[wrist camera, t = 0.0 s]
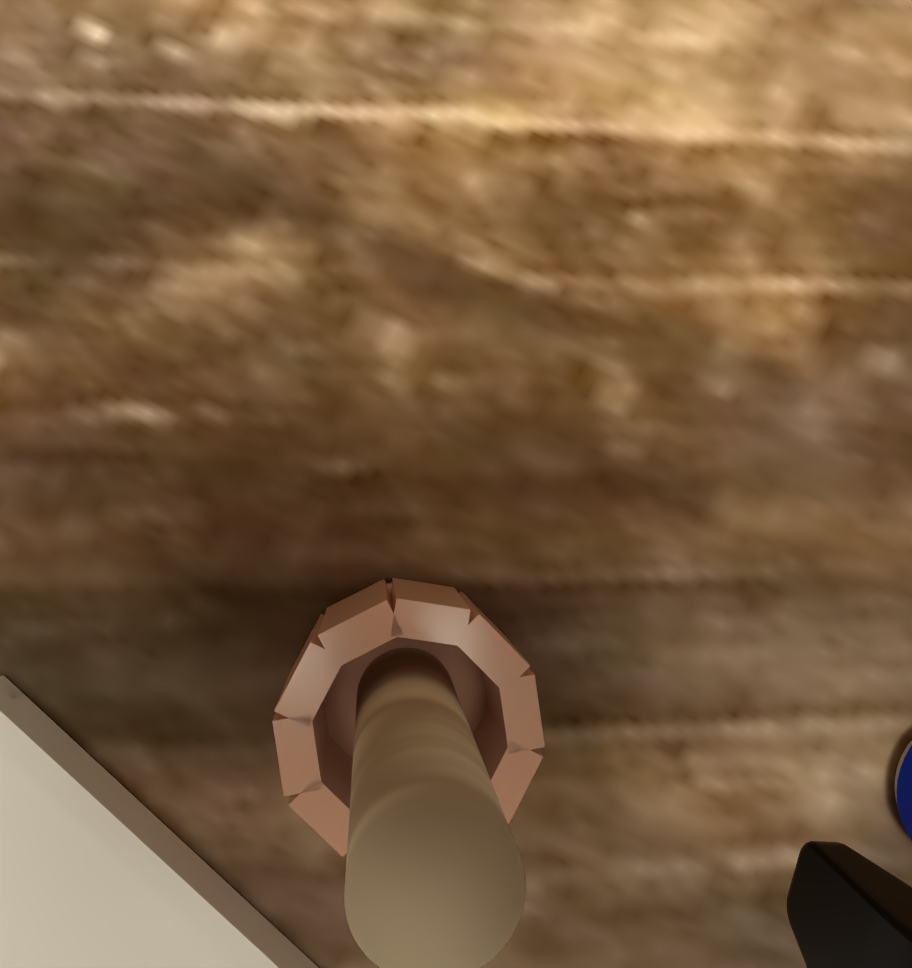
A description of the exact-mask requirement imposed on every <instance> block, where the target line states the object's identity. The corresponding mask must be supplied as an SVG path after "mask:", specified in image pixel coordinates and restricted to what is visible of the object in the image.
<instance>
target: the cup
mask: <svg viewBox="0 0 912 968" xmlns="http://www.w3.org/2000/svg"><path fill="white" fill-rule="evenodd" d="M405 647H407V648H416V649H420V650H423V651H426V652H428V653H430V654H431V655H433V656H434V657H436V658H437V659H438V660H439V661H440V662H441V663H442V664H443V665H444V667H445V668H446V670H447V671H448V673H449V676H450V678H451V680H452V683H453V686H454V688H455V691H456V693H457V696H458V698H459V701H460V703H461V706H462V708H463V711H464V714H465V716H466V719H467V721H468V724H469V726H470V729H471V731H472V734H473V736H474V739H475V742H476V744H477V747H478V749H479V752H480V754H481V757H482V759H483V762H484V764H485V767H486V769H487V772H488V775H489V777H490V780H491V782H492V785H493V787H494V790H495V792H496V795H497V797H498V800H499V803H500V805H501V808H502V810H503V813H504V815H505V818H506V820H507V823H510V821H511V819H512V817H513V815H514V813H515V811H516V809H517V807H518V805H519V803H520V802H521V800H522V798H523V796H524V794H525V792H526V790H527V788H528V786H529V784H530V782H531V780H532V778H533V776H534V774H535V772H536V770H537V768H538V766H539V764H540V762H541V760H542V758H543V755H542V754H541V752H540V750H539V749H538V748H543V747H545V744H544V737H543V730H542V723H541V716H540V709H539V702H538V695H537V687H536V680H535V674H534V673H533V672H532V671H531V669H530V668H529V667H530V665H529V664H528V662H527V661H526V660H525V659H524V658H523V656H522V655H521V654H520V653H519V652H518V650H517V649H516V648H515V647H514V646H513V644H512V643H511V642H510V641H509V640H508V638H507V637H506V636H505V635H504V634H503V633H502V632H501V631H500V630H499V629H498V628H497V627H496V626H495V625H494V624H493V623H492V622H491V621H490V620H489V619H488V618H487V617H486V616H485V614H484V613H483V612H482V611H481V610H480V609H479V608H478V607H477V606H476V605H475V604H474V603H473V602H472V601H471V600H470V599H469V598H468V597H467V596H466V595H465V594H464V593H463V592H462V591H460V592H459V593H458V592H457V590H456V589H455V588H454V587H450V586H444V585H437V584H431V583H424V582H418V581H411V580H405V579H399V578H392V582H389V583H386V582H385V580H384V579H383V580H381V581H379V582H377V583H375V584H373V585H371V586H369V587H367V588H365V589H363V590H361V591H359V592H357V593H355V594H353V595H351V596H349V597H347V598H345V599H343V600H341V601H339V602H337V603H335V604H333V605H331V606H329V607H327V608H326V611H325V614H324V615H322V614H320V616H319V618H318V620H317V622H316V624H315V625H314V627H313V629H312V631H311V633H310V635H309V637H308V639H307V641H306V643H305V644H304V646H303V648H302V650H301V652H300V654H299V656H298V658H297V660H296V661H295V663H294V665H293V667H292V669H291V671H290V673H289V676H288V678H287V681H286V683H285V686H284V688H283V690H282V693H281V695H280V698H279V700H278V703H277V705H276V708H275V710H274V711H275V712H276V713H275V716H274V718H273V721H272V722H273V729H274V736H275V742H276V749H277V755H278V762H279V768H280V775H281V782H282V788H283V795H284V796H289V795H291V796H290V800H289V804H288V805H289V806H290V807H291V808H292V809H293V810H294V811H295V812H296V813H297V814H298V815H299V816H300V817H301V818H302V819H303V820H304V821H305V822H306V823H307V824H309V825H310V826H311V827H312V828H313V829H314V830H315V831H316V832H317V833H318V834H319V835H320V836H321V837H322V838H323V839H324V840H325V841H326V842H327V843H329V844H330V845H331V846H332V847H333V848H334V849H335V850H336V851H337V852H338V853H339V854H340V855H341V856H342V857H343V856H344V855H345V854H346V853H347V845H348V829H349V813H350V797H351V781H352V765H353V750H354V734H355V718H356V702H357V689H358V685H359V682H360V679H361V676H362V674H363V673H364V671H365V669H366V668H367V667H368V665H369V664H370V663H371V662H372V661H373V660H374V659H376V658H377V657H378V656H380V655H381V654H383V653H385V652H387V651H390V650H393V649H397V648H405Z"/></svg>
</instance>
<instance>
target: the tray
mask: <svg viewBox="0 0 912 968" xmlns="http://www.w3.org/2000/svg"><path fill="white" fill-rule="evenodd" d="M0 968H318V967H317V966H316V965H315V964H314V963H313V962H312V961H311V960H310V959H309V958H308V957H306V956H305V955H304V954H303V953H302V952H301V951H300V950H299V949H298V948H297V947H296V946H295V945H294V944H292V943H291V942H290V941H289V940H288V939H287V938H286V937H285V936H284V935H283V934H282V933H281V932H280V931H278V930H277V929H276V928H275V927H274V926H273V925H272V924H271V923H270V922H269V921H268V920H267V919H266V918H264V917H263V916H262V915H261V914H260V913H259V912H258V911H257V910H256V909H255V908H254V907H253V906H252V905H250V904H249V903H248V902H247V901H246V900H245V899H244V898H243V897H242V896H241V895H240V894H239V893H238V892H236V891H235V890H234V889H233V888H232V887H231V886H230V885H229V884H228V883H227V882H226V881H225V880H224V879H222V878H221V877H220V876H219V875H218V874H217V873H216V872H215V871H214V870H213V869H212V868H211V867H210V866H208V865H207V864H206V863H205V862H204V861H203V860H202V859H201V858H200V857H199V856H198V855H197V854H196V853H194V852H193V851H192V850H191V849H190V848H189V847H188V846H187V845H186V844H185V843H184V842H183V841H182V840H180V839H179V838H178V837H177V836H176V835H175V834H174V833H173V832H172V831H171V830H170V829H169V828H168V827H166V826H165V825H164V824H163V823H162V822H161V821H160V820H159V819H158V818H157V817H156V816H155V815H154V814H152V813H151V812H150V811H149V810H148V809H147V808H146V807H145V806H144V805H143V804H142V803H141V802H140V801H138V800H137V799H136V798H135V797H134V796H133V795H132V794H131V793H130V792H129V791H128V790H127V789H126V788H124V787H123V786H122V785H121V784H120V783H119V782H118V781H117V780H116V779H115V778H114V777H113V776H112V775H110V774H109V773H108V772H107V771H106V770H105V769H104V768H103V767H102V766H101V765H100V764H99V763H98V762H96V761H95V760H94V759H93V758H92V757H91V756H90V755H89V754H88V753H87V752H86V751H85V750H84V749H82V748H81V747H80V746H79V745H78V744H77V743H76V742H75V741H74V740H73V739H72V738H71V737H70V736H68V735H67V734H66V733H65V732H64V731H63V730H62V729H61V728H60V727H59V726H58V725H57V724H56V723H54V722H53V721H52V720H51V719H50V718H49V717H48V716H47V715H46V714H45V713H44V712H43V711H42V710H40V709H39V708H38V707H37V706H36V705H35V704H34V703H33V702H32V701H31V700H30V699H29V698H28V697H26V696H25V695H24V694H23V693H22V692H21V691H20V690H19V689H18V688H17V687H16V686H15V685H14V684H12V683H11V682H10V681H9V680H8V679H7V678H6V677H5V676H4V675H3V676H1V677H0Z"/></svg>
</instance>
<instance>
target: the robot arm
mask: <svg viewBox="0 0 912 968" xmlns="http://www.w3.org/2000/svg"><path fill="white" fill-rule="evenodd" d="M787 913H788V918H789V921H790V925H791V927H792V930H793V932H794V935H795V938H796V940H797V943H798V945H799V948H800V951H801V953H802V956H803V958H804V961H805V963H806V966H807V968H912V887H911V886H909V885H907V884H906V883H904V882H903V881H901V880H900V879H898V878H896V877H895V876H893V875H892V874H890V873H889V872H887V871H885V870H884V869H882V868H881V867H879V866H878V865H876V864H874V863H873V862H871V861H870V860H868V859H867V858H865V857H863V856H862V855H860V854H859V853H857V852H856V851H854V850H853V849H851V848H849V847H848V846H846V845H844V844H842V843H838V842H823V841H810V842H807V843H806V844H805V845H804V846H803V847H802V848H801V851H800V854H799V857H798V861H797V864H796V868H795V871H794V875H793V878H792V882H791V885H790V889H789V892H788V896H787Z"/></svg>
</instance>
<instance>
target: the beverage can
mask: <svg viewBox="0 0 912 968" xmlns="http://www.w3.org/2000/svg"><path fill="white" fill-rule="evenodd" d="M895 797H896V802H897V806H898V811H899V815H900V818H901V821H902V823H903V826H904V828H905V829H906V831H907V833H908V835H909V836H910V838H911V839H912V740H911V741H910V743H909V744H908V745H907V747H906V748H905V750H904V752H903V754H902V755H901V758H900V760H899V763H898V766H897V770H896V774H895Z"/></svg>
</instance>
